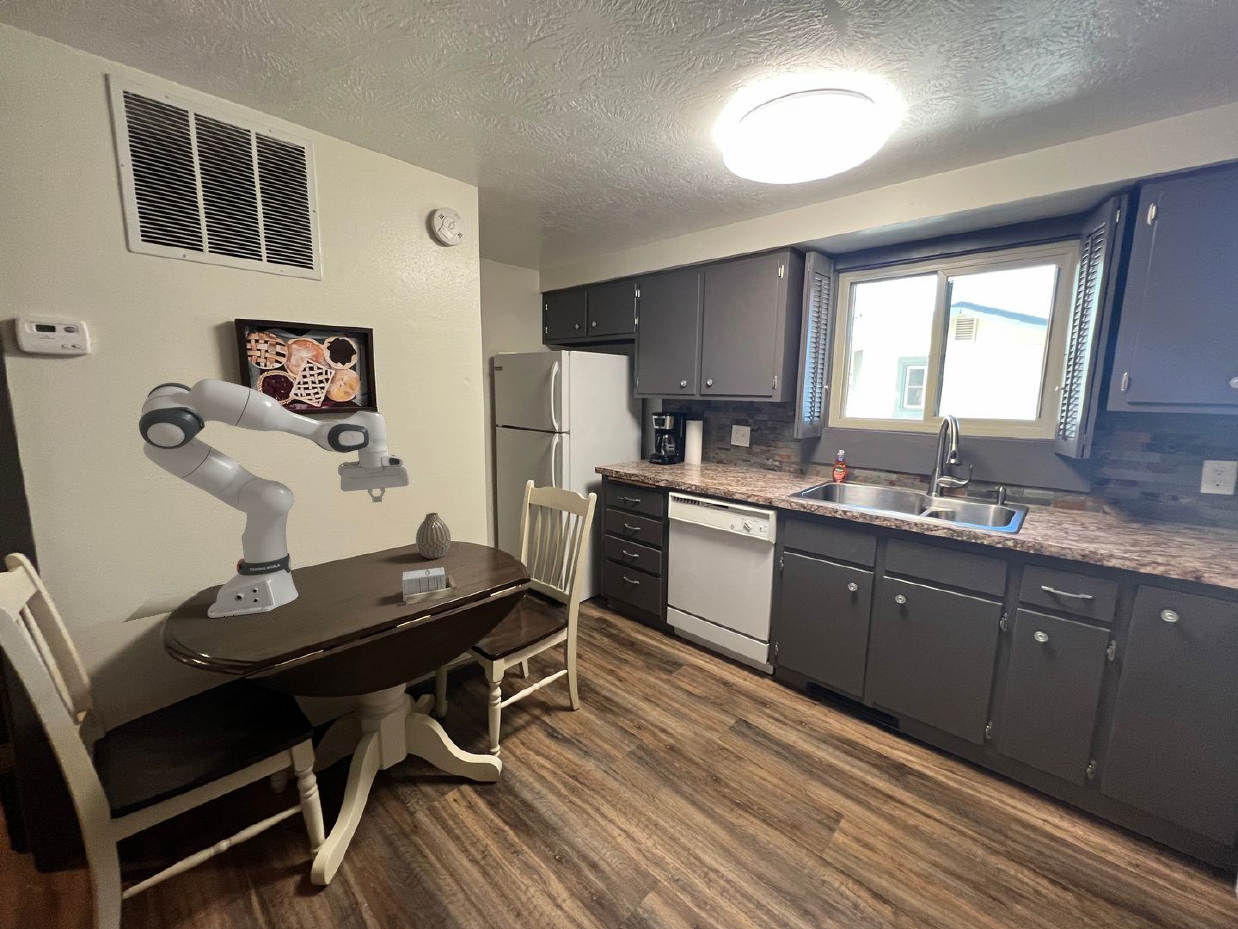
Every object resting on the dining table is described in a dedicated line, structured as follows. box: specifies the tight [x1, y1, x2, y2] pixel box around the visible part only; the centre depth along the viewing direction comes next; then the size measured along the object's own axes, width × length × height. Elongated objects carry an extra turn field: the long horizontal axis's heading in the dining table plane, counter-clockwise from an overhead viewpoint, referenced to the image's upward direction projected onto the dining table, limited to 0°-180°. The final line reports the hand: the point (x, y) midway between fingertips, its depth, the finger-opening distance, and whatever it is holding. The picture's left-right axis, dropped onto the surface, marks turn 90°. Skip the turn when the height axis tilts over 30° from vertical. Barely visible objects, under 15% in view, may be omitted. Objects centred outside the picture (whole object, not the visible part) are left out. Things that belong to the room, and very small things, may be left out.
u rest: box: [405, 574, 458, 606], centre depth 158 cm, size 15×11×3 cm
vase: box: [415, 512, 452, 560], centre depth 194 cm, size 13×13×18 cm
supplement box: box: [401, 566, 447, 602], centre depth 157 cm, size 7×7×13 cm
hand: (377, 502), depth 161 cm, fingers closed
